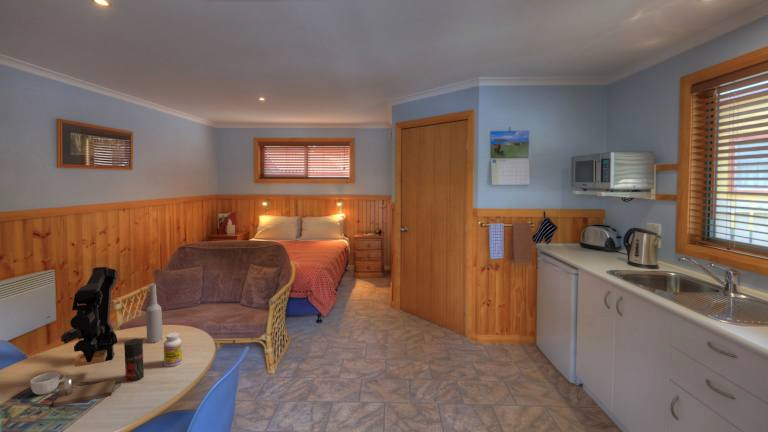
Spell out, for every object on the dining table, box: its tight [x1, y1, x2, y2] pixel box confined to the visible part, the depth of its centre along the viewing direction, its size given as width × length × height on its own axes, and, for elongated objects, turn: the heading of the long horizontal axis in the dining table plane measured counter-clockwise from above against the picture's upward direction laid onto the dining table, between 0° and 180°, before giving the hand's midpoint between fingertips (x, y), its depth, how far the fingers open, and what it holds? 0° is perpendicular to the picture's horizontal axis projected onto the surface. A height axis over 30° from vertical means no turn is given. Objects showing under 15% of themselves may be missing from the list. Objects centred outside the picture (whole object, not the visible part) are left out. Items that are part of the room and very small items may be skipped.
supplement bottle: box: [163, 332, 183, 368], centre depth 157 cm, size 7×7×13 cm
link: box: [74, 350, 107, 368], centre depth 144 cm, size 9×6×2 cm, turn 118°
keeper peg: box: [63, 377, 73, 396], centre depth 130 cm, size 2×2×6 cm
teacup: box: [29, 371, 66, 396], centre depth 135 cm, size 10×8×5 cm
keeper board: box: [53, 379, 117, 408], centre depth 133 cm, size 16×9×2 cm, turn 118°
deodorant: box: [123, 338, 145, 383], centre depth 144 cm, size 6×6×15 cm
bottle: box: [145, 283, 164, 344], centre depth 178 cm, size 7×7×28 cm
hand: (91, 358), depth 144 cm, fingers closed on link, 6 cm apart
